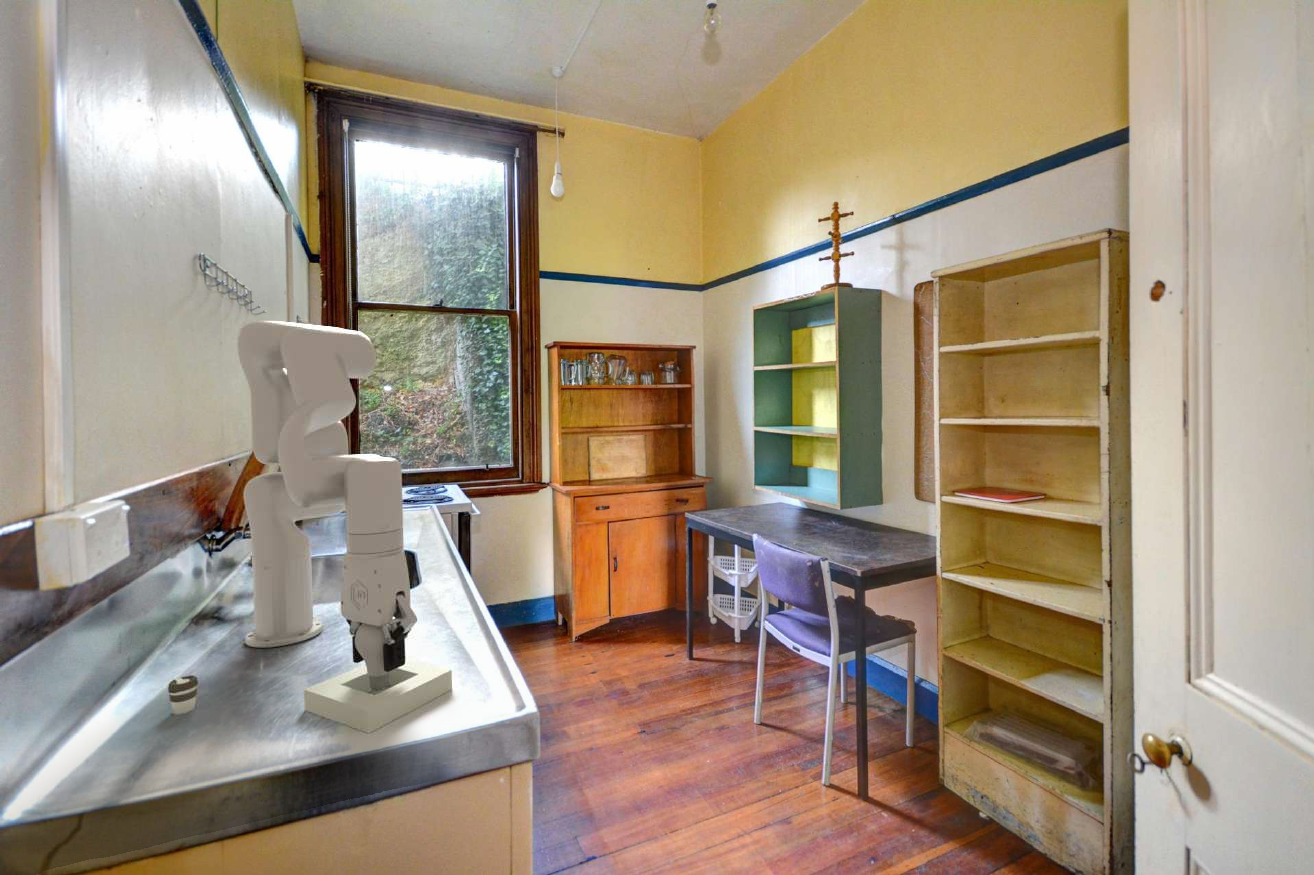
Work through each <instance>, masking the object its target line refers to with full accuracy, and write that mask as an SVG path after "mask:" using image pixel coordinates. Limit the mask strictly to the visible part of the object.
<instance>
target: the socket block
mask: <svg viewBox="0 0 1314 875" xmlns="http://www.w3.org/2000/svg"><path fill="white" fill-rule="evenodd" d="M452 672H453V671H452V669H450V668H447V667H441V666H438V665H434V664H430V663H426V662H422V661H418V660H415V659H411V658H406V657H405V664H404V665H403V666H401V667H399V668H396V669H394V670H392V671H390V672H389V684H388V686H391V687H389V688H386V689H383V690H382V691H379V692H378V693H375V694H371V693H370V692H373V691H374V690H373V689H371V688H370V681H369V680H370V679H369V675H368V674H367V667H366V663H364V664H362V665H360V666H358V667H357V666H356V667H355V668H353V669H350V670H348V671H346V672H343V673H341V674H338V675H335V676H333V677H331V678H329V679H325V680H324V681H321V682H318V683H316V684H313V685H311V686H309V687H306V688H304V689H303V696H304V697H303V699H304V700H303V701H304V711H306V712H309V713H311V714H314V715H317V716H319V717H322V718H325V719H328V720H330V721H334V722H336V723H339V724H342V725H345V726H348V727H349V728H350V727H351V728H353V729H355V730H359V731H361V732H364V733H367V734H371V733H372V732H374V731H376V730H378V729H380V728H382V727H384V726H385V725H388V724H389V723H391V722H393V721H395V720H397V719H399V718H401V717H402V716H403V717H404V715H406V714H408V713H410V712H412V711H414V710H416V709H417V708H420V707H421V706H423V705H425V704H427V703H429V702H431V701H433V700H435V699H437V698H438V697H441V696H443V695H445V694H446V693H448V692H450V691H452V690H453V675H452V674H453V673H452Z"/></svg>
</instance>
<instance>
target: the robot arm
mask: <svg viewBox="0 0 1314 875" xmlns="http://www.w3.org/2000/svg"><path fill="white" fill-rule="evenodd" d="M237 353H238V354H237V355H238V358H239V363H240V366H241V369H242V371H243V373H244V375H245V378H246V381H247V384H248V387H249V391H250V405H251V406H250V408H251V410H250V411H251V414H250V416H251V442H252V443H251V444H252V452H253V454H254V457H255V459H256V460H257V461H258V462H259V463H261V464H264V465H267V466H268V465H269V466H279V467H280V471H276V472H267V473H263V474H260V475H257V476H255V477H253V478H251V479H249V481H248V482H247V483H246V484H245V486H244V490H243V502H244V506H245V507H244V508H245V511H246V516H247V520H248V521H247V522H248V525H249V530H250V531H249V532H250V541H251V542H250V543H251V559H252V560H251V561H252V564H251V566H252V587H253V614H251V616H250V621H252V622H254V629H253V630H252V631H250V632H248V633H247V634H246V636H244V637H245V638H244V640H245V641H244V642H245V644H246V645H247V646H248V647H252V648H260V649H261V648H262V649H263V648H274V647H281V646H282V647H285V646H288V645H293V644H296V643H302V642H304V641H307V640H309V639H312V638H314V637H316V636H318V635H319V634H320V633H322V631H323V629H324V628H323V627H324V625H323V624H324V623H323V622H322V621H320V620H317V619H314V603H313V602H314V600H313V577H312V576H313V574H312V572H313V570H312V569H313V568H312V549H311V548H312V547H311V546H312V545H311V541H310V539H309V537H308V536H307V535H306V533H305V532H304V531H303V530H302V529H300V528H299V527H298V526H297V525H296V523H295V522H297V521H302V520H307V519H314V518H315V519H316V518H323V517H331V516H335V515H339V514H341V513H342V512H343V511H345V512H344V513H345V514H344V515H345V536H346V539H345V541H346V551H345V552H344V556H343V561H342V567H341V568H342V569H341V578H340V579H341V580H340V615H341V616H342V617H343V618H345V620H346V622H347V624H348V626H349V630H348V631H349V632H348V633H349V635H351V636H352V638H351V640H352V662H353V663H354V664H358V663H361V662H363V661H364V659H363V657H362V656H361V655H360V653H359V652H358V650H357V649H356V646H355V635H356V632H357V630H358V628H359V627H360V625H361V624H362V623H363V624H367V625H372V626H377V627H381V626H382V629H383V632H384V636H385V639H386V642H387V643H386V644H383V662H384V671H386V672H390V671H392V670H394V669H396V668H399V667H401V666H403V665H404V664H405V658H406V639H407V638H408V636H409V633H410V632H411V631H412V629H413V627H414V626H415V624H416V623H417V622H418V617H417V615H416V613H415V612H414V611H413V609H412V608H411V588H410V587H411V586H410V585H411V584H410V577H409V576H410V575H409V569H408V568H409V567H408V563H407V556H406V553H405V551H404V549H405V547H404V544H405V543H404V519H403V518H404V512H403V510H404V509H403V482H402V481H403V476H402V466H401V465H402V464H401V463H400V461H399V460H398V459H396V458H393V457H387V456H381V455H378V454H375V453H361V454H349V440H348V439H349V438H348V433H347V429H346V427H345V425H344V423H343V422H342V420H343V419H345V418H346V417H348V416H349V415H350V414H352V412H353V411H354V409H355V407H356V404H357V399H356V395H355V392H354V390H353V387H352V384H351V382H350V379H366V378H368V377H370V376H371V375H372V374H373V372H374V371H375V369H376V366H377V354H376V349H375V347H374V345H373V343H372V341H371V339H370V338H369V337H368V336H367V335H366V334H364V333H363V332H361V331H357V330H350V329H345V328H341V327H334V326H324V325H314V324H304V323H296V322H289V321H288V322H287V321H279V320H278V321H277V320H259V321H258V320H257V321H251V322H249V323H247V324H244V325H243V326H242V327H241V329H240V330H239V333H238V337H237ZM392 619H393V620H392ZM394 623H396V626H397V628H396V629H395V630H394V632H392V628H391V625H392V624H394ZM364 662H365V661H364Z"/></svg>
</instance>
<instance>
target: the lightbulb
mask: <svg viewBox="0 0 1314 875" xmlns="http://www.w3.org/2000/svg"><path fill="white" fill-rule="evenodd" d="M393 619H394V618H392V620H393ZM391 628H392V632H394V630H395V629H396V628H397V626H396V623H394V624H392V625H391ZM386 643H387V642H386V639H385V636H384V632H383V629H382V626H381V627H377V626H372V625H367V624H363V623H362V624H361V625H360V627H359V628H358V630H357V632H356V635H355V646H356V649H357V650H358V652H359V653H360V655H361V656H362V657H363V659H364V664H366V667H367V674H368V675H369V679H370V680H369V681H370V688H371V689H373V690H372V691H376V692H382V691H384V690H385V688H387V687H388V686H389V685H388V684H389V672H386V671H384V662H383V644H386Z"/></svg>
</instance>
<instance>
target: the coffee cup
mask: <svg viewBox="0 0 1314 875" xmlns="http://www.w3.org/2000/svg"><path fill="white" fill-rule="evenodd" d="M198 684H199V680H198V677H197V676H196V675H186V676H179V677H178V678H177V679H175V678H172V680H171V681H170V682H169V683H168V688H167V691H168V693H169V694H168V695H169V696H168V697H169V701H170V703H171V709H172V714H174V715H183V714H187V713H190V712H192V711H193V710H195V709H196V701H197V694H198Z"/></svg>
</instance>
